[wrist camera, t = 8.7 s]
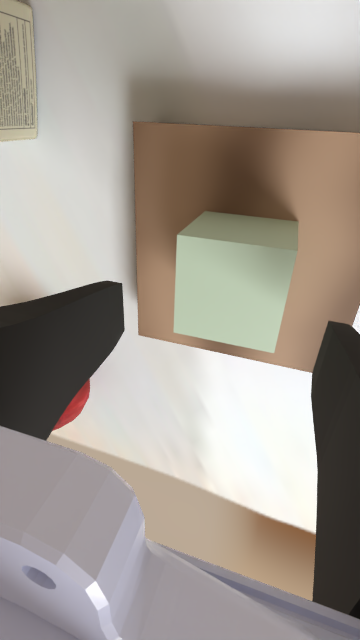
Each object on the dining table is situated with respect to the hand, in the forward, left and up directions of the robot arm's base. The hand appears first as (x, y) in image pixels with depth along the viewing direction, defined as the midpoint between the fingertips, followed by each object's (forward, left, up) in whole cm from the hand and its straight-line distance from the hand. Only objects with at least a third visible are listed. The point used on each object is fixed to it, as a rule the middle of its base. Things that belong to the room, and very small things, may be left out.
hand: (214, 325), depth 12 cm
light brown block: (0, 0, -9) cm, 9 cm away
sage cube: (0, 0, -7) cm, 7 cm away
